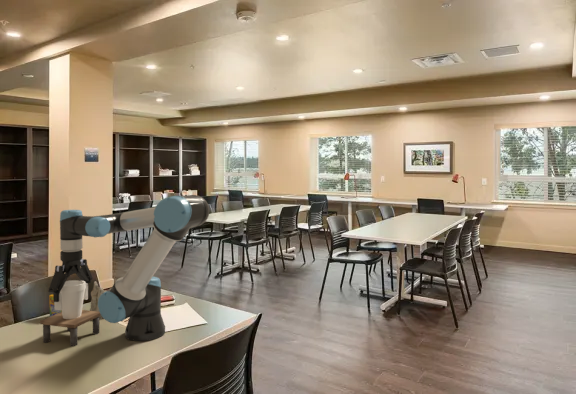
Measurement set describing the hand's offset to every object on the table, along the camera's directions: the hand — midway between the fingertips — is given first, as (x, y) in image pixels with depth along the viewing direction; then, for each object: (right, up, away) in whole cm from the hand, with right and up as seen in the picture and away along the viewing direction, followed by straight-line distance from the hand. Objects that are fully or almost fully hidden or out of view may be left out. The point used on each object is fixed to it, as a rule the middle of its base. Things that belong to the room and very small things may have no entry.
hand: (71, 304), depth 160 cm
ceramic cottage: (+1, -12, +30) cm, 32 cm away
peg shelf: (0, -13, +1) cm, 13 cm away
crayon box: (-18, -12, +22) cm, 31 cm away
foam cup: (0, -5, 0) cm, 5 cm away
